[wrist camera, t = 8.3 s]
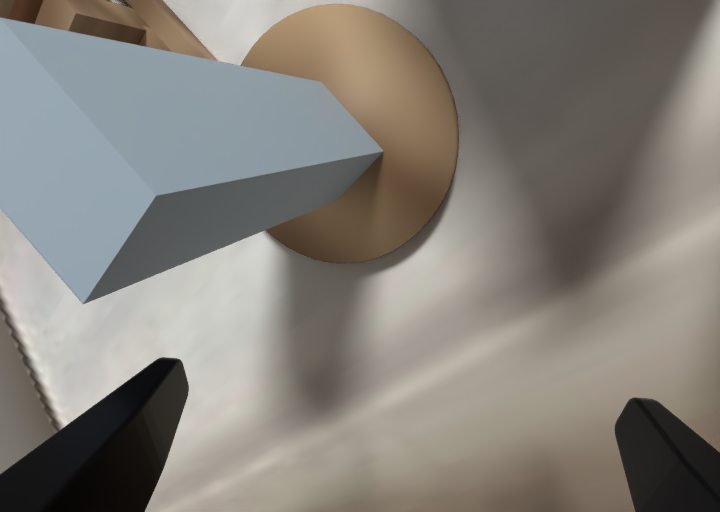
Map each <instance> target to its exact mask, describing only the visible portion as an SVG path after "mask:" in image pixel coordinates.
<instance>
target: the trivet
mask: <svg viewBox="0 0 720 512" xmlns="http://www.w3.org/2000/svg"><path fill="white" fill-rule="evenodd" d="M241 66H244V67H249V68H254V69H259V70H264V71H269V72H274V73H279V74H284V75H289V76H294V77H299V78H304V79H309V80H314V81H319V82H322V83H323V84H324V85H325V86H326V88H327V89H328V90H329V91H330V92H331V93H332V94H333V95H334V96H335V98H336V99H337V100H338V101H339V102H340V103H341V104H342V105H343V106H344V108H345V109H346V110H347V111H348V112H349V113H350V114H351V115H352V116H353V117H354V119H355V120H356V121H357V122H358V123H359V124H360V125H361V126H362V127H363V129H364V130H365V131H366V132H367V133H368V134H369V135H370V136H371V137H372V139H373V140H374V141H375V142H376V143H377V144H378V145H379V146H380V147H381V149H382V150H383V151H384V152H383V153H382V154H381V155H380V156H379V157H378V158H377V159H376V160H375V161H374V162H373V163H372V164H371V165H370V166H369V167H368V168H367V169H366V170H365V172H364V173H363V174H362V175H361V176H360V177H359V178H358V179H357V180H356V181H355V182H354V183H353V184H352V185H351V186H350V187H349V188H348V189H347V190H346V191H345V192H344V193H343V194H342V196H341V197H340V198H339V199H338V200H337V201H335V202H333V203H330V204H328V205H325V206H323V207H321V208H318V209H316V210H313V211H311V212H308V213H306V214H303V215H301V216H298V217H296V218H294V219H291V220H289V221H286V222H284V223H281V224H279V225H276V226H274V227H271V228H269V229H267V231H268V232H269V233H270V234H271V235H272V236H273V237H274V238H276V239H277V240H278V241H280V242H281V243H282V244H284V245H285V246H287V247H288V248H290V249H292V250H294V251H296V252H298V253H300V254H302V255H305V256H307V257H310V258H312V259H316V260H321V261H325V262H332V263H356V262H362V261H368V260H371V259H374V258H377V257H381V256H383V255H385V254H387V253H389V252H391V251H393V250H395V249H397V248H398V247H400V246H401V245H403V244H404V243H406V242H407V241H408V240H409V239H411V238H412V237H413V236H414V235H415V234H416V233H417V232H419V231H420V230H421V229H422V228H423V227H424V225H425V224H426V223H427V222H428V221H429V220H430V218H431V217H432V216H433V215H434V214H435V212H436V210H437V209H438V207H439V206H440V204H441V203H442V201H443V199H444V197H445V195H446V193H447V191H448V189H449V186H450V183H451V180H452V177H453V174H454V171H455V166H456V161H457V156H458V144H459V129H458V117H457V112H456V107H455V102H454V98H453V95H452V92H451V90H450V87H449V84H448V81H447V80H446V78H445V76H444V74H443V72H442V70H441V68H440V66H439V64H438V63H437V62H436V60H435V59H434V57H433V56H432V54H431V53H430V52H429V51H428V49H427V48H426V47H425V46H424V45H423V44H422V43H421V42H420V41H419V40H418V39H417V38H416V37H415V36H413V35H412V34H411V33H410V32H408V31H407V30H406V29H405V28H403V27H402V26H401V25H400V24H398V23H397V22H395V21H393V20H391V19H390V18H388V17H386V16H385V15H383V14H380V13H378V12H375V11H373V10H370V9H367V8H364V7H359V6H354V5H348V4H327V5H319V6H314V7H311V8H307V9H304V10H301V11H298V12H296V13H294V14H292V15H290V16H287V17H286V18H284V19H283V20H281V21H280V22H278V23H277V24H275V25H274V26H273V27H271V28H270V29H269V30H268V31H267V32H266V33H265V34H263V35H262V36H261V38H260V39H259V40H258V41H257V42H256V43H255V45H254V46H253V47H252V48H251V50H250V51H249V53H248V54H247V56H246V57H245V59H244V60H243V62H242V64H241Z"/></svg>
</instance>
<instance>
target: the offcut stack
mask: <svg viewBox="0 0 720 512" xmlns="http://www.w3.org/2000/svg"><path fill="white" fill-rule="evenodd" d="M42 3H43V0H0V18H5V19H10V20H15V21H20V22H25V23H30V24H35V21H36V19H37V16H38V13H39V11H40V8H41V5H42Z"/></svg>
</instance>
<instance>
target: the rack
mask: <svg viewBox="0 0 720 512" xmlns="http://www.w3.org/2000/svg"><path fill="white" fill-rule="evenodd" d="M126 1H127V3H128V4H129V5H130V6H131V7H132V8H130V7H127V6H123V5H120V4H117V3H113V2H110V1H106V0H43V3H42V5H41V8H40V11H39V13H38V16H37V19H36V21H35V25H40V26H45V27H50V28H55V29H60V30H65V31H70V32H75V33H80V34H85V35H90V36H95V37H100V38H105V39H110V40H115V41H120V42H125V43H130V44H135V45H140V46H145V47H149V48H154V49H159V50H164V51H169V52H174V53H179V54H184V55H189V56H194V57H199V58H204V59H209V60H214V61H217V59H216V58H215V57H214V56H213V55H212V54H211V53H210V52H209V51H208V50H207V48H206V47H205V46H204V45H203V44H202V43H201V42H200V41H199V40H198V39H197V38H196V36H195V35H194V34H193V33H192V32H191V31H190V30H189V29H188V28H187V27H186V25H185V24H184V23H183V22H182V21H181V20H180V19H179V18H178V17H177V16H176V15H175V13H174V12H173V11H172V10H171V9H170V8H169V7H168V6H167V5H166V4H165V2H164V1H163V0H126Z"/></svg>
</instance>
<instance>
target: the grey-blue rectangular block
mask: <svg viewBox="0 0 720 512" xmlns="http://www.w3.org/2000/svg"><path fill="white" fill-rule="evenodd" d="M383 152H384V151H383V150H382V149H381V147H380V146H379V145H378V144H377V143H376V142H375V141H374V140H373V139H372V137H371V136H370V135H369V134H368V133H367V132H366V131H365V130H364V129H363V127H362V126H361V125H360V124H359V123H358V122H357V121H356V120H355V119H354V117H353V116H352V115H351V114H350V113H349V112H348V111H347V110H346V109H345V108H344V106H343V105H342V104H341V103H340V102H339V101H338V100H337V99H336V98H335V96H334V95H333V94H332V93H331V92H330V91H329V90H328V89H327V88H326V86H325V85H324V84H323V83H322V82H319V81H314V80H309V79H304V78H299V77H294V76H289V75H284V74H279V73H274V72H269V71H264V70H259V69H254V68H249V67H244V66H239V65H234V64H229V63H224V62H219V61H214V60H209V59H204V58H199V57H194V56H189V55H184V54H179V53H174V52H169V51H164V50H159V49H154V48H149V47H145V46H140V45H135V44H130V43H125V42H120V41H115V40H110V39H105V38H100V37H95V36H90V35H85V34H80V33H75V32H70V31H65V30H60V29H55V28H50V27H45V26H40V25H35V24H30V23H25V22H20V21H15V20H10V19H5V18H0V209H1V210H2V211H3V212H4V213H5V214H6V216H7V217H8V218H9V219H10V220H11V221H12V223H13V224H14V225H15V226H16V227H17V228H18V229H19V231H20V232H21V233H22V234H23V235H24V236H25V238H26V239H27V240H28V241H29V242H30V243H31V245H32V246H33V247H34V248H35V249H36V250H37V251H38V253H39V254H40V255H41V256H42V257H43V258H44V260H45V261H46V262H47V263H48V264H49V265H50V267H51V268H52V269H53V270H54V271H55V272H56V273H57V275H58V276H59V277H60V278H61V279H62V280H63V282H64V283H65V284H66V285H67V286H68V287H69V289H70V290H71V291H72V292H73V293H74V294H75V295H76V297H77V298H78V299H79V300H80V301H81V302H82V304H85V303H87V302H90V301H92V300H95V299H97V298H100V297H102V296H105V295H107V294H110V293H112V292H114V291H117V290H119V289H122V288H124V287H127V286H129V285H132V284H134V283H137V282H139V281H141V280H144V279H146V278H149V277H151V276H154V275H156V274H159V273H161V272H164V271H166V270H168V269H171V268H173V267H176V266H178V265H181V264H183V263H186V262H188V261H190V260H193V259H195V258H198V257H200V256H203V255H205V254H208V253H210V252H213V251H215V250H217V249H220V248H222V247H225V246H227V245H230V244H232V243H235V242H237V241H240V240H242V239H244V238H247V237H249V236H252V235H254V234H257V233H259V232H262V231H264V230H267V229H269V228H271V227H274V226H276V225H279V224H281V223H284V222H286V221H289V220H291V219H294V218H296V217H298V216H301V215H303V214H306V213H308V212H311V211H313V210H316V209H318V208H321V207H323V206H325V205H328V204H330V203H333V202H335V201H337V200H338V199H339V198H340V197H341V196H342V194H343V193H344V192H345V191H346V190H347V189H348V188H349V187H350V186H351V185H352V184H353V183H354V182H355V181H356V180H357V179H358V178H359V177H360V176H361V175H362V174H363V173H364V172H365V170H366V169H367V168H368V167H369V166H370V165H371V164H372V163H373V162H374V161H375V160H376V159H377V158H378V157H379V156H380V155H381V154H382V153H383Z"/></svg>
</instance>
